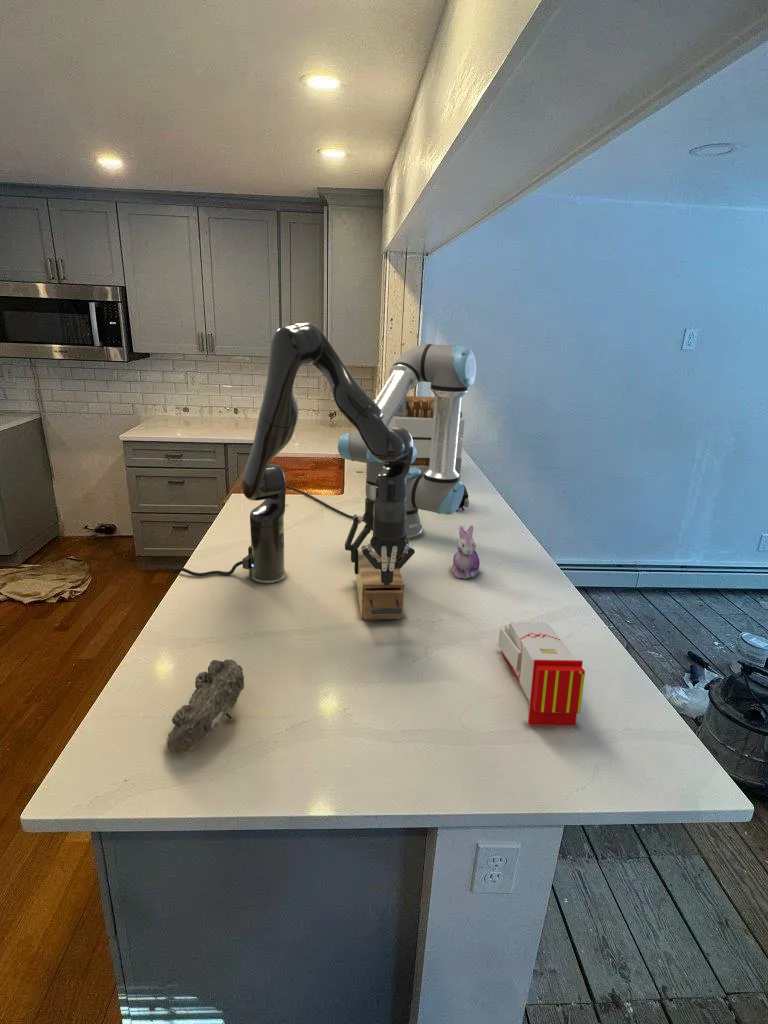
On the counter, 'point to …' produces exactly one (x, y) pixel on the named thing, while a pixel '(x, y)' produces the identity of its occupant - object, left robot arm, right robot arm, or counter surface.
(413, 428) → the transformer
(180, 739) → the fossil
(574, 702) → the toy
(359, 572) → the cabinet
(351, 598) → the counter surface
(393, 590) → the drawer
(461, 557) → the figurine
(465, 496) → the figurine character
